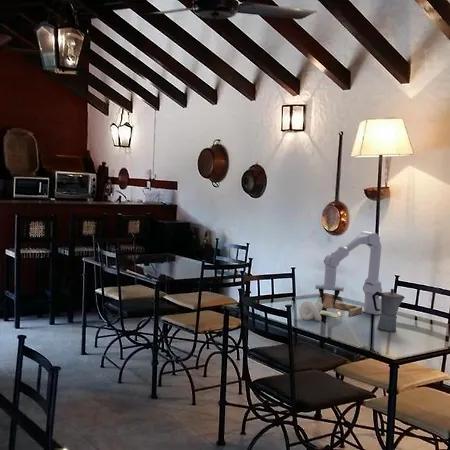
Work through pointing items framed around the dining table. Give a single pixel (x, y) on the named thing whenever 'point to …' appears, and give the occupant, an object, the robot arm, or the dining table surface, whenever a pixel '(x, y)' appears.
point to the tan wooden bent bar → (348, 308)
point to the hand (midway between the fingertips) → (328, 303)
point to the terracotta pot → (328, 300)
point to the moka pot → (388, 309)
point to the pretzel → (310, 310)
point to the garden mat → (330, 314)
